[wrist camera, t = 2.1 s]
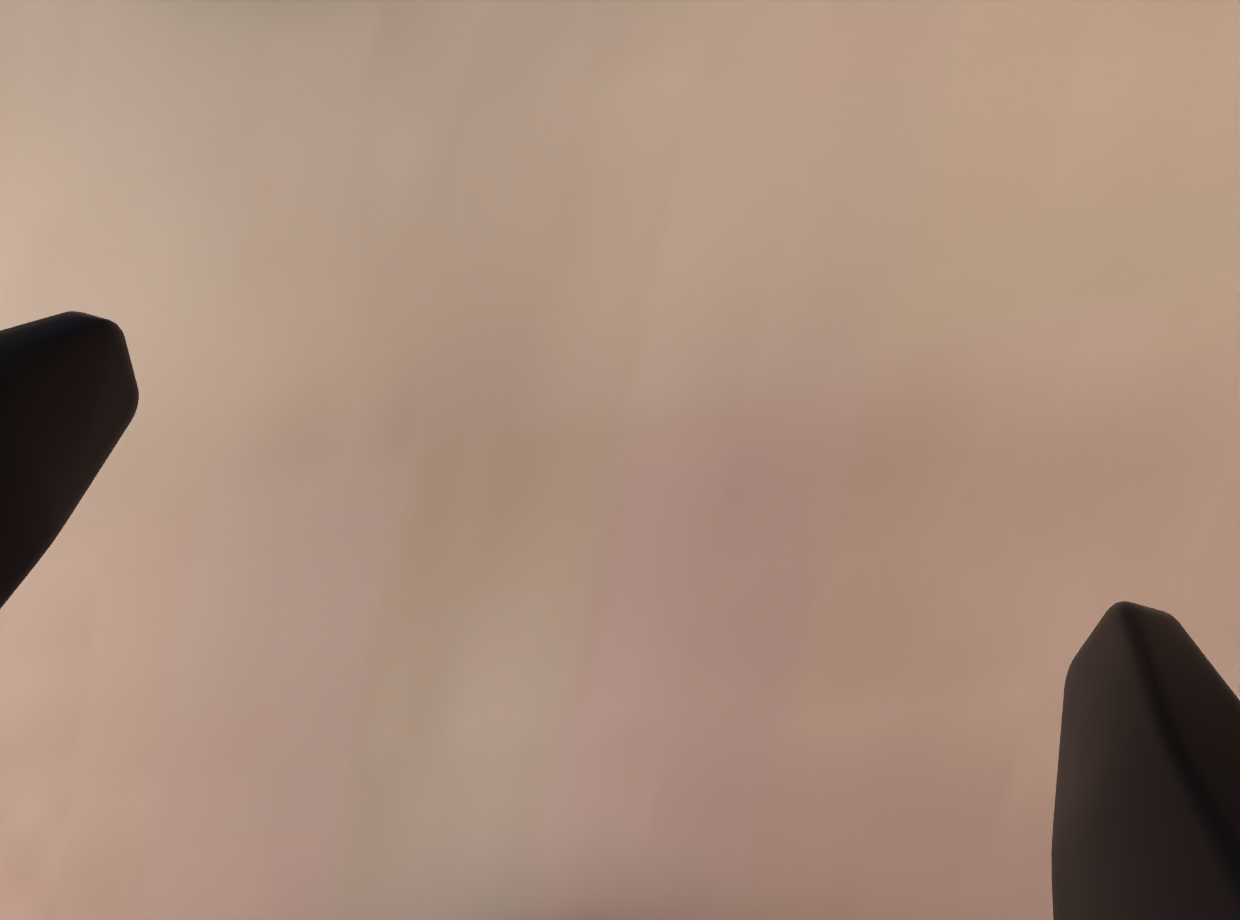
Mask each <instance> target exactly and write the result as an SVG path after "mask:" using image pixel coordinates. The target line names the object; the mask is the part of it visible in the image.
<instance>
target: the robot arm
mask: <svg viewBox="0 0 1240 920" xmlns="http://www.w3.org/2000/svg"><path fill="white" fill-rule="evenodd" d="M138 400H139V392H138V387H137V383H136V379H135V375H134V371H133V367H132V364H131V360H130V356H129V352H128V348H127V344H126V340H125V337H124V334H123V332H122V330H121V329H120V328H119V326H118V325H117V324H116V323H114V322H112V321H110V320H108V319H104V318H100V317H97V316H93V315H89V314H86V313H82V312H75V311H71V312H65V313H61V314H58V315H54V316H50V317H47V318H43V319H40V320H36V321H33V322H29V323H26V324H22V325H19V326H15V327H12V328H8V329H5V330H1V331H0V609H1V607H2V606H3V605H4V604H5V602H6V601H7V600H8V599H9V597H10V596H11V595H12V594H13V592H14V591H15V590H16V589H17V587H18V586H19V585H20V584H21V582H22V581H23V580H24V579H25V577H26V576H27V575H28V574H29V572H30V571H31V570H32V569H33V567H34V566H35V565H36V564H37V562H38V561H39V560H40V558H41V557H42V556H43V554H44V553H45V552H46V550H47V549H48V548H49V547H50V545H51V544H52V542H53V541H54V540H55V538H56V537H57V535H58V534H59V532H60V531H61V529H62V528H63V526H64V525H65V523H66V522H67V520H68V519H69V517H70V516H71V514H72V513H73V511H74V509H75V508H76V506H77V505H78V503H79V502H80V500H81V498H82V497H83V495H84V494H85V492H86V491H87V489H88V488H89V486H90V484H91V483H92V481H93V480H94V478H95V477H96V475H97V473H98V472H99V470H100V469H101V467H102V466H103V464H104V463H105V461H106V459H107V458H108V456H109V455H110V453H111V452H112V450H113V448H114V447H115V445H116V444H117V442H118V441H119V439H120V437H121V436H122V434H123V433H124V431H125V430H126V428H127V427H128V425H129V423H130V422H131V420H132V418H133V417H134V414H135V412H136V409H137V405H138ZM1052 894H1053V917H1054V920H1240V700H1239V699H1238V698H1237V697H1236V695H1235V694H1234V693H1233V691H1232V690H1231V689H1230V687H1229V686H1228V685H1227V684H1226V682H1225V681H1224V680H1223V678H1222V677H1221V676H1220V675H1219V673H1218V672H1217V671H1216V669H1215V668H1214V667H1213V666H1212V664H1211V663H1210V662H1209V660H1208V659H1207V658H1206V657H1205V655H1204V654H1203V653H1202V651H1201V650H1200V649H1199V647H1198V646H1197V645H1196V644H1195V642H1194V641H1193V640H1192V638H1191V637H1190V636H1189V635H1188V633H1187V632H1186V631H1185V629H1184V628H1183V627H1182V626H1181V624H1180V623H1179V622H1178V621H1177V620H1176V619H1175V618H1174V617H1173V616H1172V615H1170V614H1168V613H1166V612H1164V611H1160V610H1157V609H1153V608H1149V607H1146V606H1142V605H1138V604H1135V603H1131V602H1126V601H1124V602H1118V603H1116V604H1114V605H1113V606H1111V607H1110V608H1109V610H1108V611H1107V612H1106V613H1105V615H1104V616H1103V617H1102V619H1101V620H1100V622H1099V623H1098V625H1097V626H1096V627H1095V629H1094V630H1093V632H1092V633H1091V635H1090V636H1089V637H1088V639H1087V640H1086V642H1085V643H1084V644H1083V646H1082V647H1081V649H1080V650H1079V652H1078V653H1077V654H1076V656H1075V657H1074V659H1073V661H1072V663H1071V665H1070V667H1069V670H1068V673H1067V677H1066V681H1065V688H1064V700H1063V712H1062V724H1061V736H1060V748H1059V760H1058V772H1057V784H1056V797H1055V809H1054V821H1053V837H1052Z"/></svg>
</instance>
